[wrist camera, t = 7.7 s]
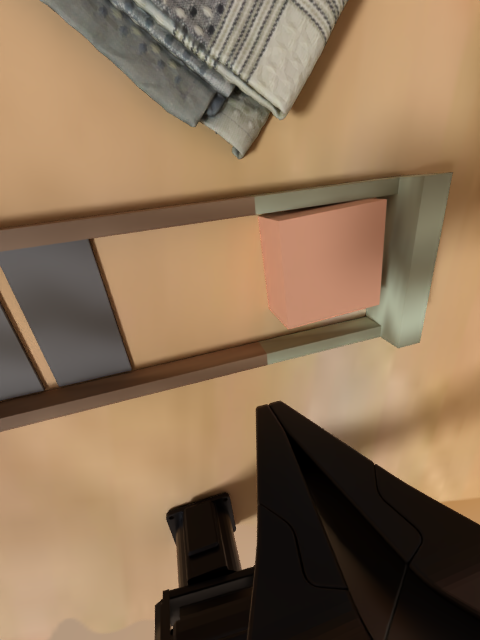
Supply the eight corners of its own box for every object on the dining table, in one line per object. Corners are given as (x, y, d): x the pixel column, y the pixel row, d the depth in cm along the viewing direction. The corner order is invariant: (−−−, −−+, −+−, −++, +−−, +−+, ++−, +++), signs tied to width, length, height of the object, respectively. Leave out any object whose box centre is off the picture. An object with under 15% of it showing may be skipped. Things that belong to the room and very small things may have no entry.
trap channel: (384, 321, 26) (419, 342, 23) (-43, 424, 20) (-87, 475, 16) (402, 175, 21) (452, 172, 17) (-171, 250, 14) (-276, 270, 11)
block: (346, 287, 24) (379, 304, 20) (267, 307, 23) (288, 329, 19) (347, 197, 21) (386, 199, 17) (256, 215, 20) (278, 221, 16)
